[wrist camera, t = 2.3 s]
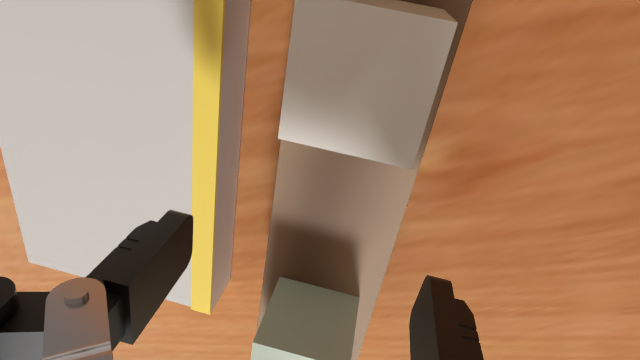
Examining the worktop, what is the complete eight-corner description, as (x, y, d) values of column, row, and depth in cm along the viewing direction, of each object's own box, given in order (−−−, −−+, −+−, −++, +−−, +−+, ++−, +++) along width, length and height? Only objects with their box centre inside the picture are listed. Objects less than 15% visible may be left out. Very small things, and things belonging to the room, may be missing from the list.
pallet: (457, -9, 17) (473, -4, 13) (364, 301, 25) (356, 362, 21) (326, -34, 17) (302, -36, 13) (278, 279, 26) (256, 334, 22)
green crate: (359, 297, 19) (349, 369, 16) (343, 351, 21) (331, 426, 18) (279, 276, 20) (252, 342, 16) (271, 332, 22) (245, 401, 18)
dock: (256, -75, 17) (227, -84, 14) (230, 278, 27) (209, 314, 24) (0, -122, 18) (-75, -139, 15) (64, 234, 28) (26, 264, 25)
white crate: (443, 9, 13) (457, 22, 10) (410, 123, 15) (411, 169, 11) (324, -15, 13) (296, -9, 10) (306, 100, 15) (277, 138, 12)
